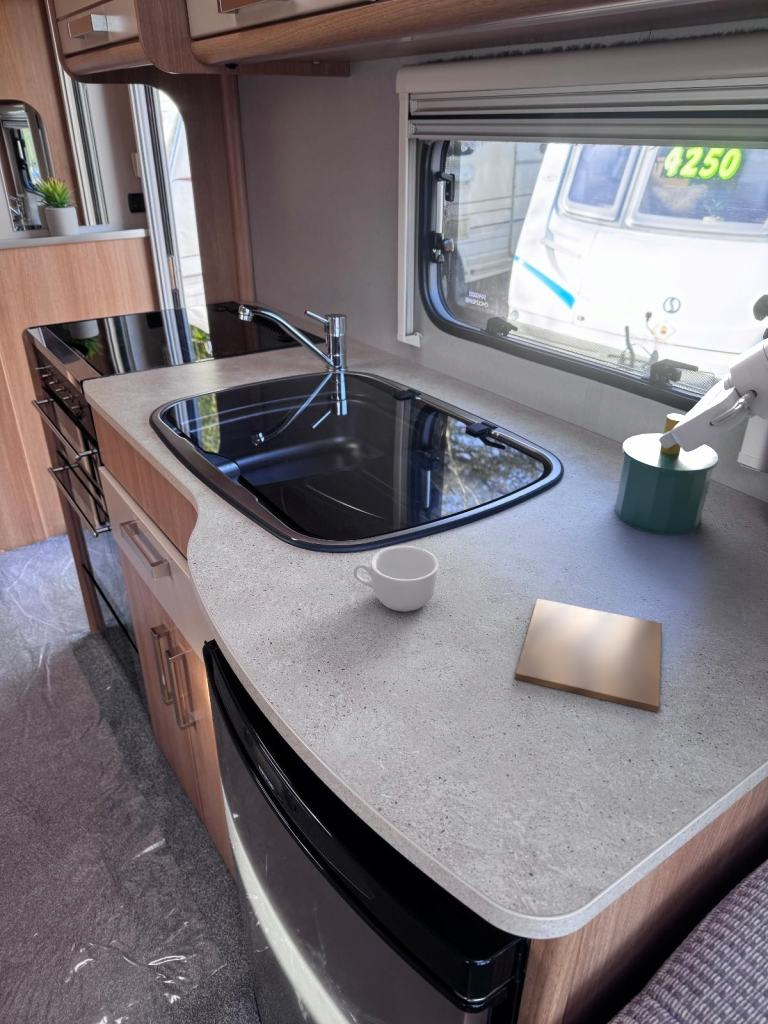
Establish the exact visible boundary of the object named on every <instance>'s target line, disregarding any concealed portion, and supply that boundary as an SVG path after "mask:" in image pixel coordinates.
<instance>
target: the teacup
mask: <svg viewBox="0 0 768 1024" xmlns="http://www.w3.org/2000/svg"><path fill="white" fill-rule="evenodd" d="M439 565H440V564H439V560H438V558H437V557H436V556H435V554H433V553H432V552H430V551H428V550H426V549H424V548H421V547H419V546H411V545H392V546H389V547H385V548H382V549H380V550H378V551H377V552H375V553H374V554H373V555H372V557H371V559H370V564H369V563H365V562H361V563H358V564H356V565H355V567H354V569H353V577H354V578H355V579H356V581H357V582H358V581H359V583H361V584H362V585H365V586H367V587H369V588H371V589H372V590H373V592H374V595H375V597H376V598H377V599H378V601H379V602H380V603H381V604H382V605H383V606H384V607H386V608H388V609H390V610H393V611H396V612H401V613H402V612H403V613H406V612H413V611H417V610H420V609H421V608H422V607H424V606H426V605H427V604H428V603H429V602H430V601H431V599H432V597H433V595H434V592H435V588H436V584H437V577H438V572H439ZM359 569H364V570H365V571H366V572H367V573H368V575H369V577H370V580H368V579H365V578H363V577H361V576H360V575H359V573H358V570H359Z"/></svg>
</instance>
